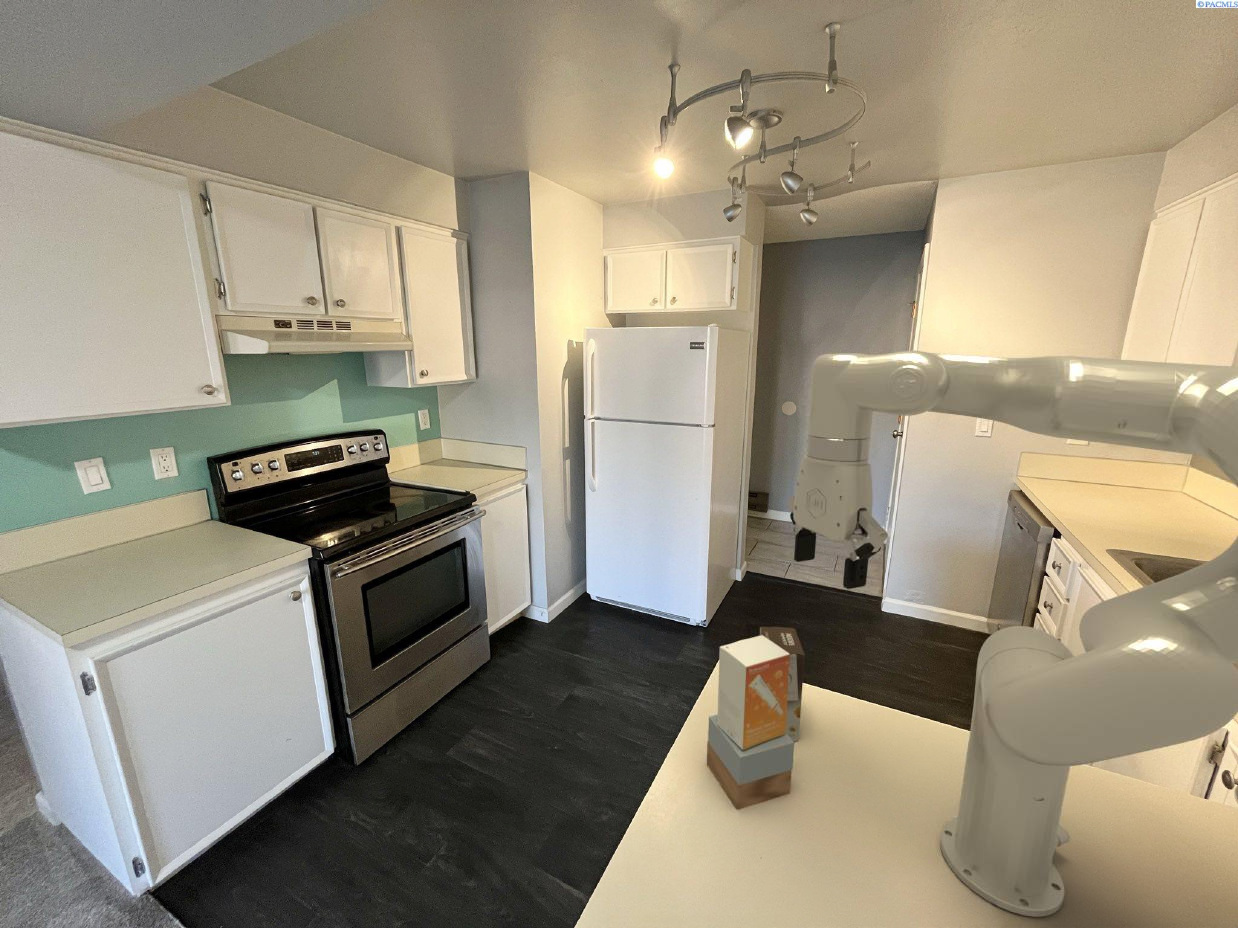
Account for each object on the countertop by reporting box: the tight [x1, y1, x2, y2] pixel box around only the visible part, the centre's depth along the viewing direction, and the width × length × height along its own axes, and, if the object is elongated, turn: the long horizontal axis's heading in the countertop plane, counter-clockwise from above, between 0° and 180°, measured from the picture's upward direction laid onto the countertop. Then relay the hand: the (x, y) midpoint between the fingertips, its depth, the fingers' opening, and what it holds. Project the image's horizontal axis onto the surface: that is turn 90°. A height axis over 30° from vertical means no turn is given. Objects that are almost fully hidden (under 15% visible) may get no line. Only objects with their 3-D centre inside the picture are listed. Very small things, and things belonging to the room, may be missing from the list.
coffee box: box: [759, 626, 806, 742], centre depth 90 cm, size 9×6×16 cm
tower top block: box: [707, 714, 795, 785], centre depth 78 cm, size 9×9×4 cm
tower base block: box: [706, 740, 793, 811], centre depth 79 cm, size 9×9×4 cm
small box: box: [717, 635, 790, 750], centre depth 76 cm, size 8×6×13 cm
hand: (827, 572), depth 71 cm, fingers open, 9 cm apart
